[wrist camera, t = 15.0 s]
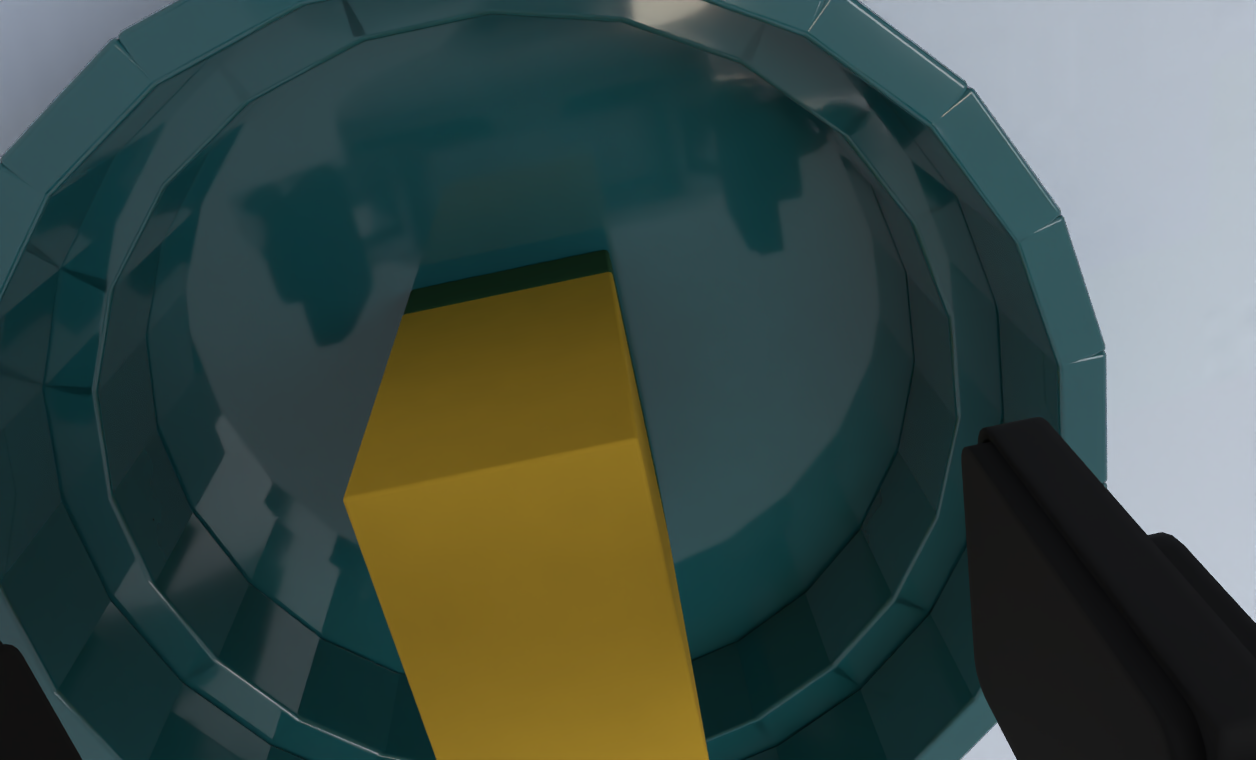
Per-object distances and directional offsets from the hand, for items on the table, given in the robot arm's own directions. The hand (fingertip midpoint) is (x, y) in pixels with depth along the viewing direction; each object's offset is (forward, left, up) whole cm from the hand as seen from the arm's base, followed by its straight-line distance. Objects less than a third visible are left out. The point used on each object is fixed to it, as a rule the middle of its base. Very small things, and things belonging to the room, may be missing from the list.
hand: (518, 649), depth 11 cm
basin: (+1, 0, -7) cm, 7 cm away
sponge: (+1, 0, -7) cm, 7 cm away
